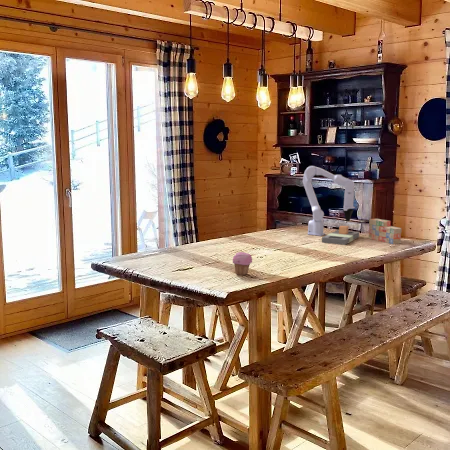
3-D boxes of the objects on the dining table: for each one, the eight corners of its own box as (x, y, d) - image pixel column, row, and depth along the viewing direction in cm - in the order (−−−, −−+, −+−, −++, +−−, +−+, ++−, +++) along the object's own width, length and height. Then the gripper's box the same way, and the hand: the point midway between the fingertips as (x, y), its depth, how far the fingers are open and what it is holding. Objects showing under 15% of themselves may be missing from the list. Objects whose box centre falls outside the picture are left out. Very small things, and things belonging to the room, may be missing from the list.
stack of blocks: (400, 243, 320) (402, 223, 318) (392, 244, 317) (394, 223, 315) (375, 237, 339) (377, 218, 337) (368, 238, 336) (369, 218, 334)
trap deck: (321, 242, 319) (322, 237, 318) (337, 234, 346) (337, 230, 345) (345, 244, 312) (345, 239, 312) (359, 236, 339) (359, 232, 339)
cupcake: (235, 271, 245) (235, 249, 244) (253, 272, 243) (254, 251, 241) (229, 275, 237) (230, 253, 235) (249, 277, 235) (249, 254, 233)
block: (338, 233, 332) (339, 226, 331) (340, 232, 336) (341, 225, 335) (346, 234, 330) (346, 227, 329) (348, 233, 334) (348, 226, 333)
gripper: (352, 200, 328) (350, 222, 330) (358, 198, 341) (357, 220, 343) (340, 200, 331) (339, 221, 334) (347, 198, 344) (346, 219, 346)
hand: (347, 220), depth 338 cm, fingers closed
